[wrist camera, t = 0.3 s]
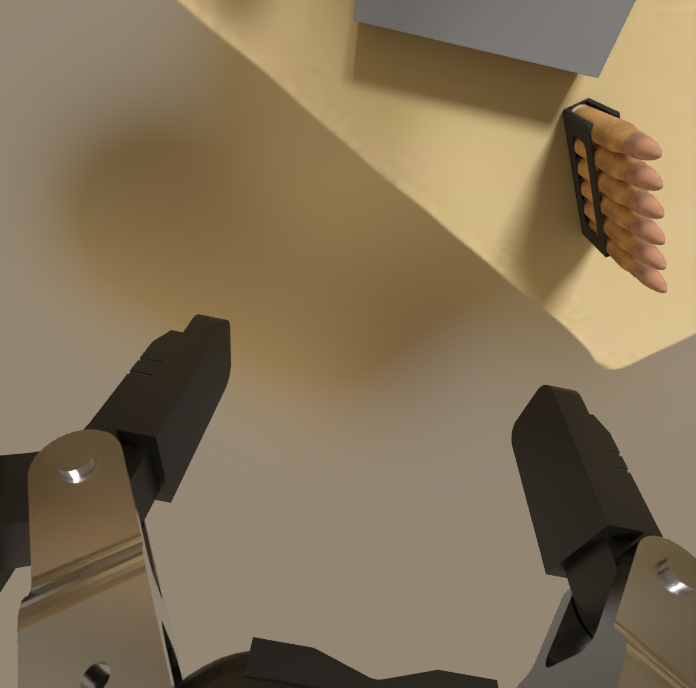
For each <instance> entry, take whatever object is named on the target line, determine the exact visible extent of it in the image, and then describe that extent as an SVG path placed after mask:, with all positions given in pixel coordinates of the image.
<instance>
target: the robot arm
mask: <svg viewBox="0 0 696 688" xmlns="http://www.w3.org/2000/svg"><path fill="white" fill-rule="evenodd" d="M230 349H231V348H230V323H229V321H228V320H225V319H220V318H215V317H210V316H204V315H200V314H198V315H196V316H194V318H193V319H192V320H191V322H190V323H189V325H188V326H187V328H186V329H185V330H184V332H178V331H173V330H171V331H169V332H167V333H166V334H164V335H163V336H161V337H159V338H158V339H156V340H154V341H153V342H152V343H151V344H150V346H149V347H148V348H147V349H146V351H145V352H144V353H143V355H142V356H141V357H140V361H137V362H136V364H135V365H134V366H133V367H132V369H131V370H130V374H127V375H126V376H125V378H124V379H123V380H122V382H121V383H120V384H119V385H118V387H117V388H116V389H115V391H114V392H113V393H112V395H111V396H110V397H109V399H108V400H107V401H106V402H105V404H104V405H103V406H102V407H101V409H100V410H99V411H98V413H97V414H96V415H95V416H94V418H93V419H92V421H91V422H90V423H89V424H88V425H87V426H86V428H84V429H83V430H80V431H75V432H72V433H69V434H66V435H63V436H62V437H59V438H57V439H56V440H54V441H52V442H51V443H49V444H48V445H47V446H45V447H44V448H43V449H42V450H41V451H39V452H33V453H23V454H12V455H1V456H0V592H1V590H2V589H3V587H4V585H5V584H6V582H7V581H8V579H9V578H10V576H11V575H12V573H13V571H14V570H15V568H19V567H24V566H31V581H32V582H31V590H30V593H29V595H28V596H26V597H25V598H24V599H23V600H22V602H21V604H20V608H19V614H18V630H17V632H18V688H498V683H497V680H493V679H486V678H482V677H475V676H470V675H465V674H459V673H453V672H448V671H442V670H434V671H428V672H423V673H417V674H411V675H406V676H400V677H394V678H389V679H382V680H376V679H372V678H369V677H368V676H366V675H364V674H362V673H360V672H358V671H356V670H354V669H353V668H351V667H349V666H347V665H345V664H343V663H341V662H339V661H338V660H336V659H334V658H332V657H330V656H328V655H326V654H324V653H323V652H321V651H319V650H317V649H315V648H311V647H306V646H300V645H295V644H289V643H283V642H278V641H272V640H266V639H261V638H255V637H253V640H252V644H251V649H250V651H246V652H240V653H235V654H232V655H229V656H226V657H223V658H220V659H218V660H215V661H213V662H211V663H209V664H207V665H205V666H203V667H202V668H200V669H198V670H197V671H195V672H194V673H192V674H190V675H189V676H187V677H186V678H185V679H184V677H183V673H182V669H181V665H180V660H179V656H178V652H177V648H176V644H175V640H174V635H173V632H172V628H171V624H170V620H169V617H168V613H167V610H166V606H165V602H164V598H163V593H162V589H161V585H160V580H159V576H158V572H157V568H156V563H155V559H154V555H153V551H152V546H151V542H150V538H149V534H148V529H147V525H146V521H145V518H146V516H147V514H148V512H149V510H150V508H151V506H152V504H153V502H154V500H160V501H165V502H170V503H171V501H172V499H173V497H174V495H175V493H176V491H177V489H178V487H179V485H180V483H181V480H182V478H183V476H184V474H185V472H186V470H187V468H188V466H189V463H190V462H191V460H192V457H193V455H194V453H195V451H196V449H197V447H198V445H199V443H200V441H201V439H202V436H203V434H204V432H205V430H206V428H207V426H208V424H209V422H210V420H211V418H212V416H213V413H214V411H215V409H216V407H217V405H218V403H219V401H220V399H221V397H222V395H223V392H224V390H225V388H226V386H227V383H228V379H229V375H230V368H231V350H230ZM512 447H513V451H514V454H515V458H516V462H517V466H518V469H519V473H520V477H521V481H522V484H523V488H524V492H525V496H526V500H527V504H528V507H529V511H530V515H531V519H532V522H533V526H534V530H535V534H536V537H537V541H538V545H539V549H540V552H541V556H542V561H543V564H544V568H545V572H546V574H548V575H554V576H560V577H565V578H568V582H569V585H570V589H569V590H567V591H566V592H565V594H564V595H563V597H562V600H561V602H560V604H559V607H558V609H557V611H556V614H555V616H554V618H553V621H552V623H551V626H550V628H549V630H548V633H547V635H546V637H545V640H544V642H543V644H542V647H541V649H540V651H539V654H538V656H537V659H536V661H535V663H534V665H533V667H532V669H531V670H530V672H529V673H528V675H527V676H526V677H525V678H524V679H523V680H522V681H521V682H520V684H519V685H518V686H517V688H696V558H695V557H694V556H693V555H691V554H690V553H689V552H688V551H687V550H685V549H684V548H683V547H681V546H680V545H678V544H676V543H675V542H673V541H671V540H669V539H666V538H663V536H662V534H661V532H660V530H659V528H658V527H657V525H656V523H655V521H654V519H653V517H652V515H651V513H650V511H649V509H648V507H647V505H646V503H645V501H644V499H643V497H642V495H641V493H640V491H639V489H638V487H637V485H636V483H635V481H634V479H633V477H632V476H631V474H630V473H628V472H627V470H628V468H627V466H626V464H625V462H624V460H623V458H622V457H621V456H619V453H620V452H619V450H618V448H617V446H616V444H615V442H614V440H613V438H612V436H611V434H610V433H609V432H608V431H607V429H606V428H605V427H604V426H603V425H602V424H601V423H600V422H599V421H598V420H597V419H596V417H595V416H594V415H591V414H589V412H588V410H587V408H586V406H585V404H584V402H583V400H582V398H581V396H580V394H579V393H578V392H576V391H574V390H570V389H564V388H560V387H555V386H549V385H543V386H541V387H540V388H539V389H538V390H537V392H536V393H535V395H534V396H533V397H532V399H531V400H530V402H529V403H528V405H527V406H526V407H525V409H524V410H523V412H522V413H521V415H520V416H519V417H518V419H517V420H516V422H515V424H514V427H513V430H512Z"/></svg>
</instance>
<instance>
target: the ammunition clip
mask: <svg viewBox="0 0 696 688" xmlns="http://www.w3.org/2000/svg"><path fill="white" fill-rule="evenodd" d="M563 119H564V125H565V131H566V137H567V143H568V149H569V155H570V161H571V167H572V174H573V180H574V186H575V192H576V198H577V204H578V210H579V216H580V222H581V228H582V234H583V235H584V236H585V237H586V238H587V239H588V240H589V241H590V242H591V243H592V244H593V245H594V246H595V247H596V248H597V249H598V250H599V251H600V252H601V253H602V254H603V255H604V256H605V257H608V256H611V257H612V258H613V259H614V260H615V261H616V262H617V263H618V264H619V265H620V267H621V268H623V269H624V270H626V271H628V272H630V273H631V274H632V275H633V276H634V277H636V278H637V279H638V280H639V281H640V282H641V283H642V284H644V285H645V286H647V287H648V288H650V289H652V290H654V291H657V292H660V293H666V292H667V285H666V282H665V280H664V278H663V276H662V275H661V274H660V272H659V271H658V270H664V269H666V261H665V259H664V257H663V255H662V253H661V252H660V251H659V249H658V248H657V247H656V246H655V245H663V244H664V243H665V236H664V234H663V232H662V230H661V229H660V227H659V226H658V225H657V224H656V222H654V221H653V220H652V219H651V218H653V219H660V218H663V217H664V209H663V207H662V206H661V204H660V202H659V201H658V200H657V199H656V198H655V197H654V196H653V195H652V194H650V193H649V192H648V191H647V190H651V191H656V190H660V189H662V188H663V181H662V179H661V177H660V176H659V174H658V173H657V172H656V171H655V170H654V169H653V168H652V167H650V166H648V165H647V164H646V163H645V162H643V161H642V160H655V159H658V158H660V157H661V155H662V151H661V148H660V147H659V145H658V144H657V142H656V141H655V140H653V139H652V138H651V137H649V136H647V135H645V134H644V133H642V132H640V131H639V130H638V129H637V128H636V127H635V126H634V125H632V124H631V123H629V122H626V121H624V120H622V119H620V113H619V112H618V111H616V110H614V109H611V108H609V107H607V106H605V105H603V104H601V103H598V102H596V101H594V100H592V99H590V98H588V99H585V100H583V101H581V102H579V103H577V104H575V105H573V106H571V107H568V108H566V109H564V111H563ZM654 244H655V245H654ZM657 269H658V270H657Z"/></svg>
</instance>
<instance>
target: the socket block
mask: <svg viewBox="0 0 696 688" xmlns="http://www.w3.org/2000/svg"><path fill="white" fill-rule="evenodd" d="M635 1H636V0H357V3H356V9H355V16H354V21H358V22H362V23H366V24H371V25H375V26H379V27H383V28H388V29H392V30H396V31H400V32H405V33H409V34H413V35H417V36H422V37H426V38H430V39H434V40H439V41H443V42H447V43H451V44H456V45H460V46H464V47H468V48H473V49H477V50H481V51H485V52H490V53H494V54H498V55H502V56H507V57H511V58H515V59H519V60H524V61H528V62H532V63H536V64H541V65H545V66H549V67H553V68H558V69H562V70H566V71H570V72H575V73H579V74H583V75H587V76H592V77H596V78H598V77H599V75H600V73H601V71H602V69H603V67H604V65H605V63H606V60H607V58H608V56H609V54H610V52H611V50H612V48H613V46H614V44H615V42H616V40H617V38H618V36H619V34H620V32H621V30H622V27H623V25H624V23H625V21H626V19H627V17H628V15H629V13H630V11H631V9H632V7H633V5H634V3H635Z"/></svg>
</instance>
